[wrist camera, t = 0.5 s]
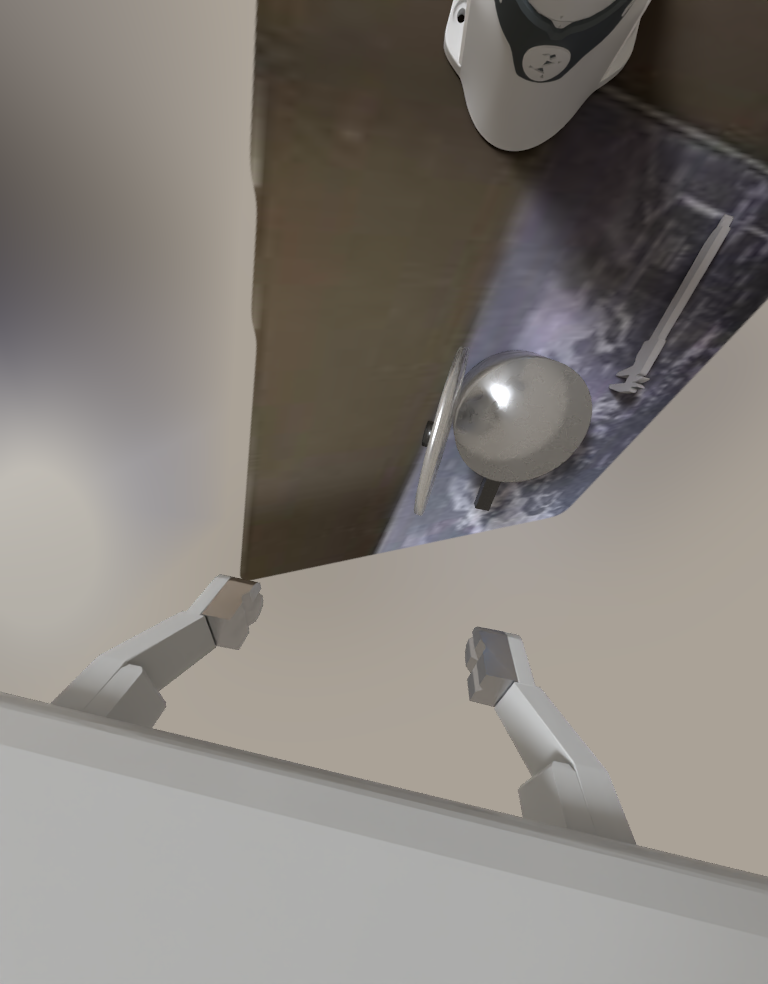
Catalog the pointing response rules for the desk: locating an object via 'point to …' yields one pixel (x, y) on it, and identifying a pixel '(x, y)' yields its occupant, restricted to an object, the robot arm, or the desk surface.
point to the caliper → (672, 312)
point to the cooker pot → (519, 418)
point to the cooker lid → (440, 430)
